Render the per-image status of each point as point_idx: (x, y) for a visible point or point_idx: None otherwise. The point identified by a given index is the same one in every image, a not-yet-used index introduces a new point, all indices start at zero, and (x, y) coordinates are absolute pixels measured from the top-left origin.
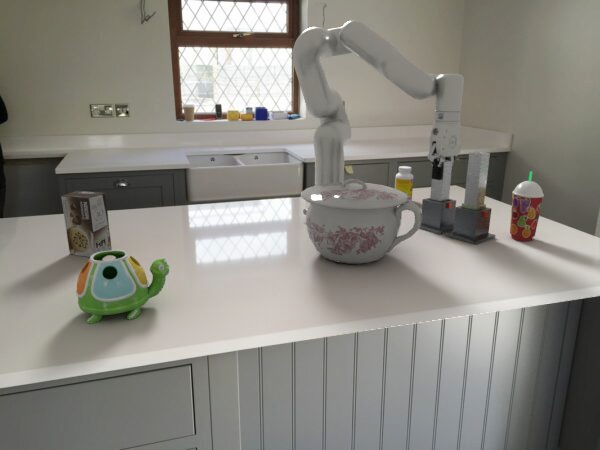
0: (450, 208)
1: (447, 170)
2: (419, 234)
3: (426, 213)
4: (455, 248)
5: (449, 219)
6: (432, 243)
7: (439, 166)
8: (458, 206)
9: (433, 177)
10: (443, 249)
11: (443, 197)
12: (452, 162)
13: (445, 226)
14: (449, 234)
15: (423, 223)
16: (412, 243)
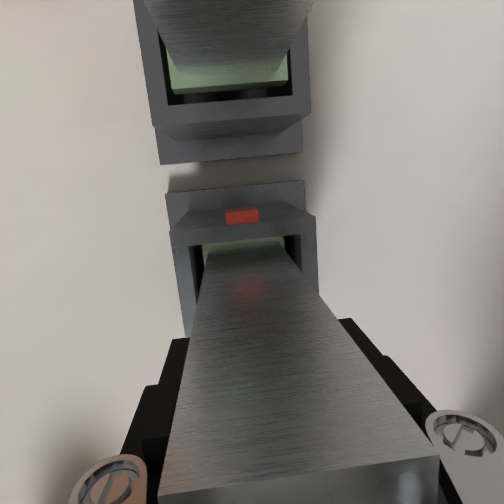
0: (223, 219)
1: (277, 363)
2: (364, 224)
3: None
4: (394, 17)
5: (223, 211)
6: (413, 117)
7: (444, 426)
8: (282, 113)
9: None
10: (439, 39)
11: (266, 260)
12: (102, 500)
13: (247, 206)
14: (300, 135)
15: None
16: (468, 160)
